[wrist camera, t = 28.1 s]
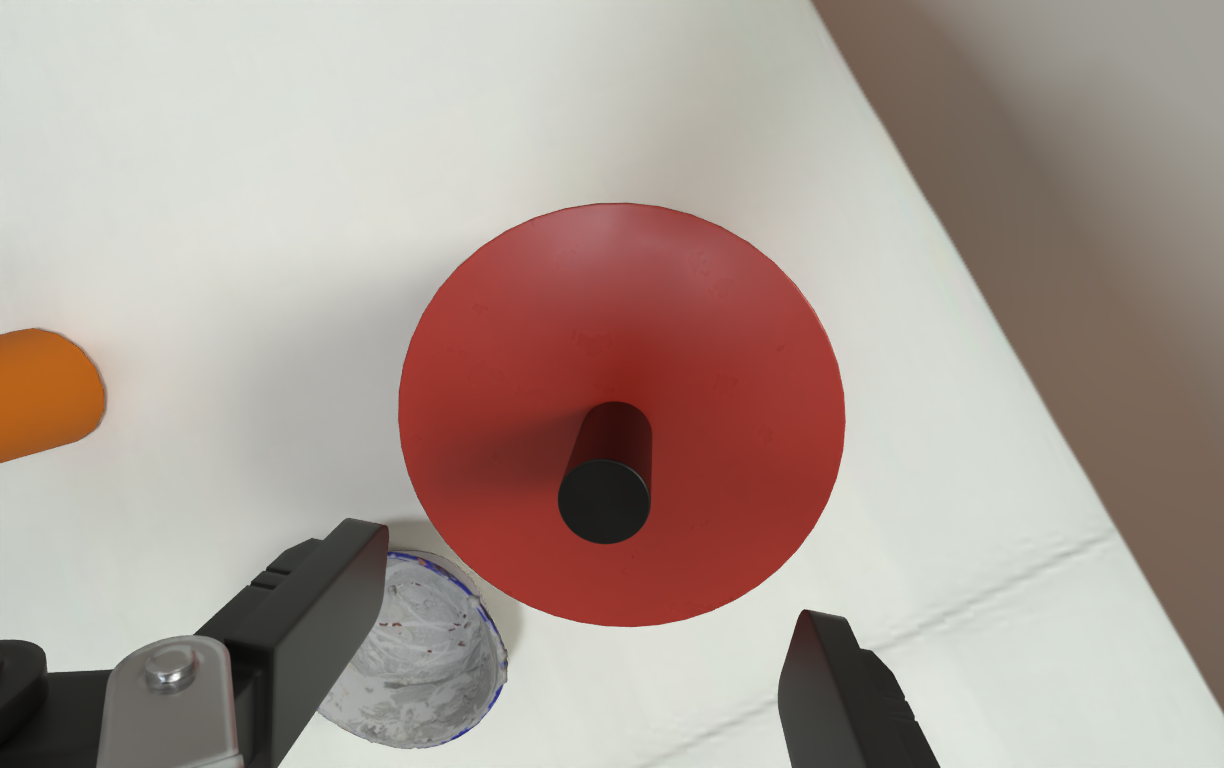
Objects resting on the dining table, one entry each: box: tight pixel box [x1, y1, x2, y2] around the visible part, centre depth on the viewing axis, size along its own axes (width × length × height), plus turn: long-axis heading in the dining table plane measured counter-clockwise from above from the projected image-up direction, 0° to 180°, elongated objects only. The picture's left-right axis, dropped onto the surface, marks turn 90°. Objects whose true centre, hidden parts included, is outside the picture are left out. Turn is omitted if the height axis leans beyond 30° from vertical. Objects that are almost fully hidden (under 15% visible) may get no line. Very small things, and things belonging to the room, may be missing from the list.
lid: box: [398, 203, 846, 627], centre depth 19 cm, size 15×15×6 cm
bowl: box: [317, 551, 508, 749], centre depth 37 cm, size 13×13×5 cm
